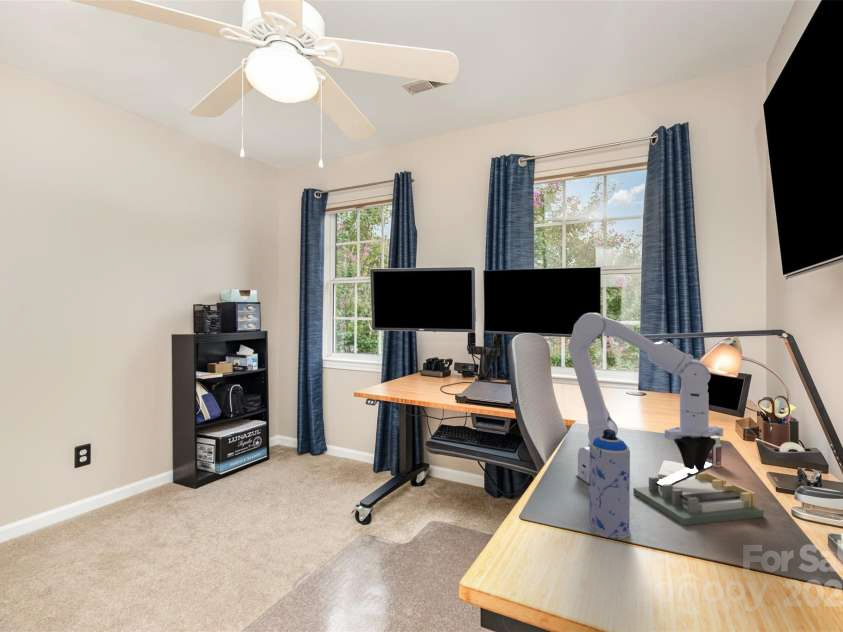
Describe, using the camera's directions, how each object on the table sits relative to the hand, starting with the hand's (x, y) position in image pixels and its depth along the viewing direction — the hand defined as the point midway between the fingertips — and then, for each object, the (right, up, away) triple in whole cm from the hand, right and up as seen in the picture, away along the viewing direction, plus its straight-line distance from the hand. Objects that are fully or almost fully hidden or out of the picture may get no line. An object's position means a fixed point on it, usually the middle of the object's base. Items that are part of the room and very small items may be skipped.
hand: (693, 467), depth 98 cm
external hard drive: (+5, -8, +14) cm, 17 cm away
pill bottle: (+19, -7, +21) cm, 29 cm away
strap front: (-1, -4, -7) cm, 8 cm away
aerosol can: (-27, -7, -14) cm, 31 cm away
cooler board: (-3, -7, -4) cm, 8 cm away
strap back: (-2, -2, 0) cm, 3 cm away
